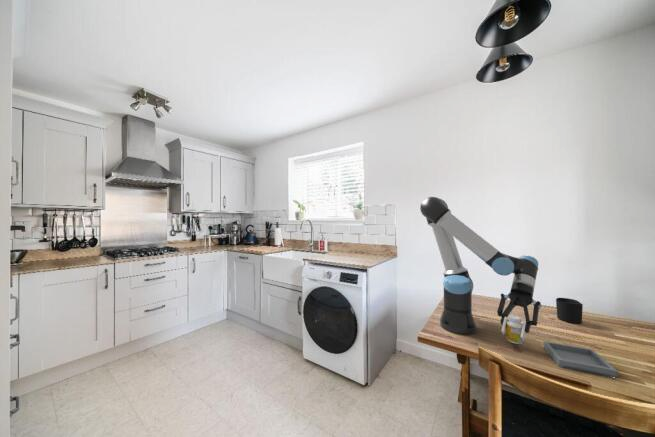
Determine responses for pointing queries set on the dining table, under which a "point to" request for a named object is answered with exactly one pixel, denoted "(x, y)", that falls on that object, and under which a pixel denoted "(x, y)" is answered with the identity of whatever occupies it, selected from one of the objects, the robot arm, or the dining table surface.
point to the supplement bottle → (514, 329)
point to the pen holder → (569, 310)
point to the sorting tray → (579, 359)
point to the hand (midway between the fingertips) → (512, 335)
